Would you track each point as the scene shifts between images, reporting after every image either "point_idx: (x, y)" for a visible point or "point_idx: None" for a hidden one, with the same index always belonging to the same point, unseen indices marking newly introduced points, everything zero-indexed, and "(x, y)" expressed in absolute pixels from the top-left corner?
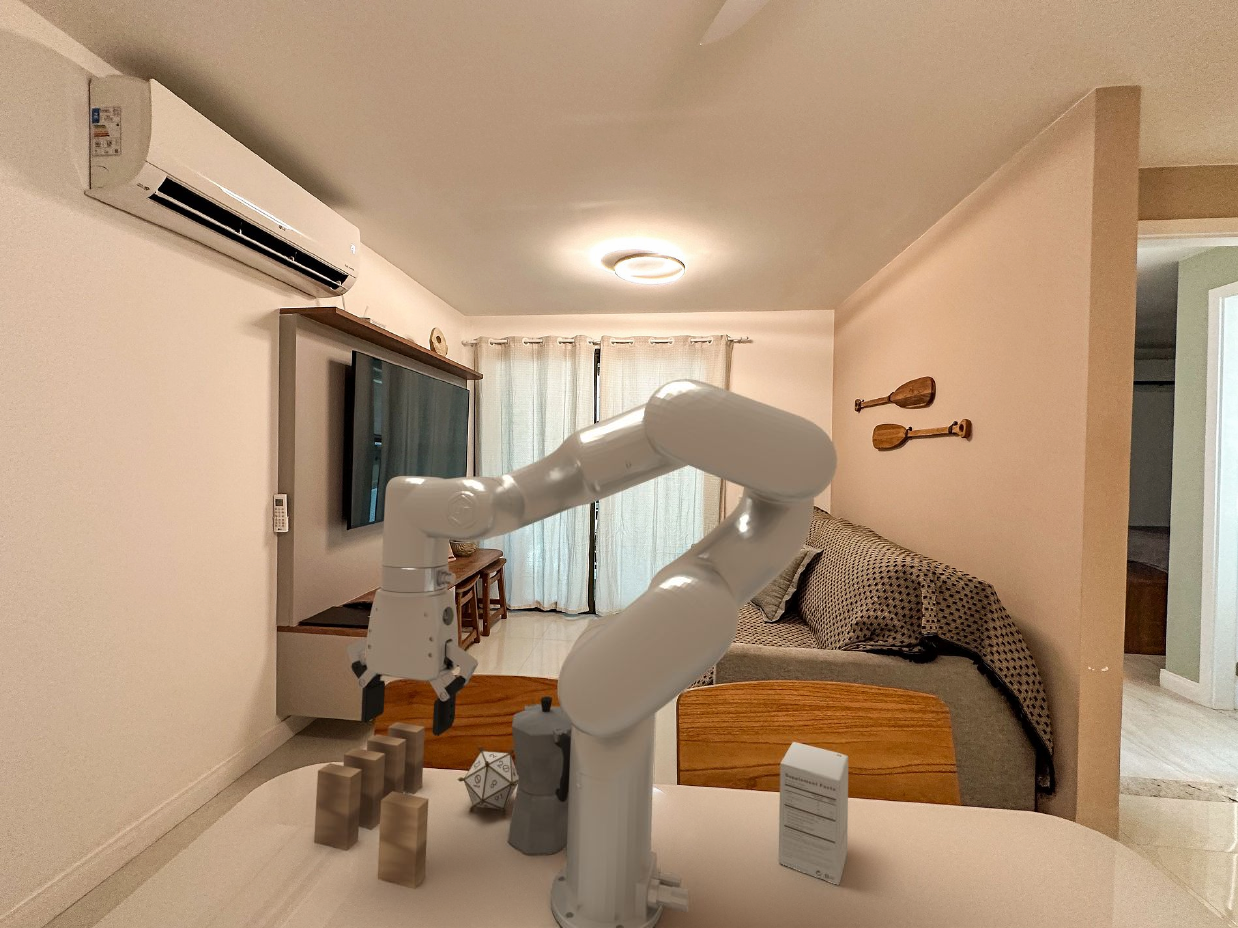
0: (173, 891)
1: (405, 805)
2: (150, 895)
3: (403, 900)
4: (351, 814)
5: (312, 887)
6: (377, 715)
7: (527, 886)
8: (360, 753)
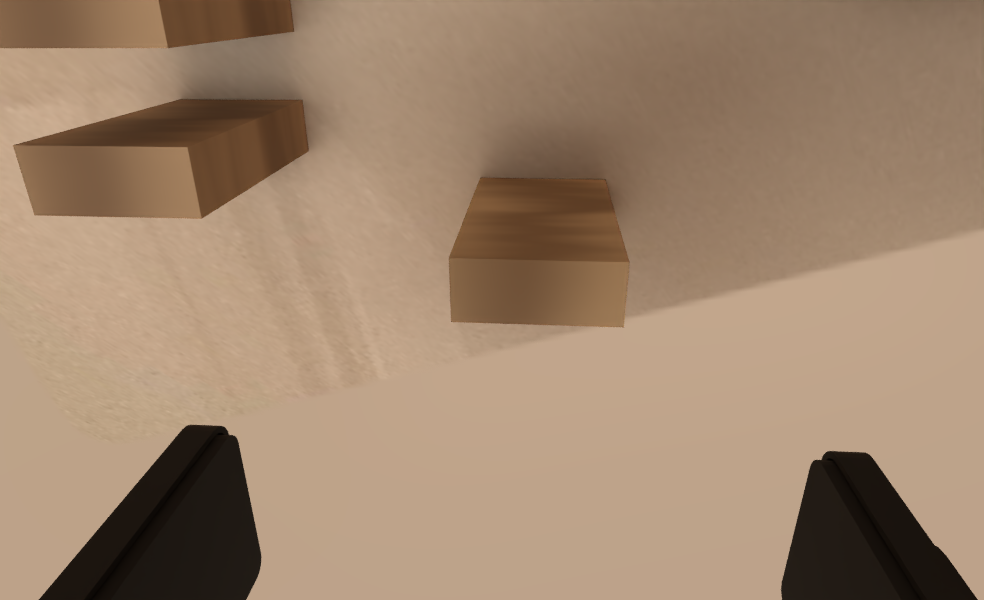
0: (83, 382)
1: (564, 323)
2: (57, 401)
3: None
4: (267, 161)
5: (348, 294)
6: (243, 487)
7: (938, 122)
8: (40, 7)
